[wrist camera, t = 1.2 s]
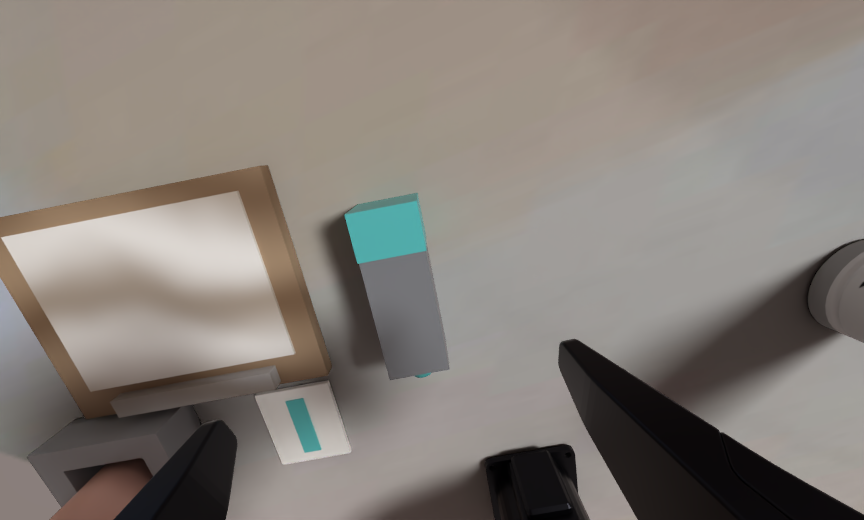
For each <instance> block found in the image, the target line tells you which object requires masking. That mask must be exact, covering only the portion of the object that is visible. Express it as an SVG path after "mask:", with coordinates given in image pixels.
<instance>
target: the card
mask: <svg viewBox="0 0 864 520" xmlns="http://www.w3.org/2000/svg"><path fill="white" fill-rule="evenodd" d="M254 397H255V399H256V401H257V404H258V406H259V409H260V411H261V414H262V416H263V418H264V421H265V423H266V426H267V428H268V431H269V433H270V435H271V438H272V440H273V443H274V445H275V448H276V450H277V452H278V455H279V457H280V460H281V462H282V465H285V464H291V463H296V462H302V461H308V460H313V459H319V458H325V457H331V456H336V455H342V454H348V453H351V450H352V449H351V446H350V443H349V440H348V437H347V434H346V431H345V428H344V425H343V422H342V419H341V416H340V413H339V410H338V406H337V403H336V400H335V397H334V394H333V391H332V388H331V385H330V382H329V380H327V381H321V382H315V383H310V384H304V385H299V386H293V387H288V388H282V389H277V390H271V391H266V392H260V393H256V395H255V396H254Z"/></svg>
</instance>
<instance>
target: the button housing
mask: <svg viewBox="0 0 864 520" xmlns="http://www.w3.org/2000/svg"><path fill="white" fill-rule="evenodd" d="M200 426H201V423H200V421H199V418H198V416H197V414H196V412H195V410H194V408H193V406H192V405H187V406H182V407H176V408H171V409H165V410H160V411H154V412H149V413H143V414H138V415H132V416H127V417H121V418H119V417H118V416H117V414H113V415H107V416H102V417H96V418H91V419H86V418H80V419H75V420H74V421H73V422H71V423H70V424H69V425H67V426H66V427H65V428H63V429H62V430H61V431H59V432H58V433H57V434H56V435H54V436H53V437H52V438H50V439H49V440H48V441H46V442H45V443H44V444H42V445H41V446H40V447H39V448H37V449H36V450H35V451H33V452H32V453H31V454H29V455H28V456H27V458H28V460H29V461H30V463H31V464H32V466H33V467H34V468H35V470H36V471H37V473H38V474H39V476H40V477H41V479H42V480H43V481H44V483H45V484H46V486H47V487H48V488H49V490H50V491H51V493H52V494H53V496H54V497H55V499H56V500H57V502H58V503H59V504H60V506H61V507H63V506H64V505H65V504H66V503H67V502H68V501H69V500H70V499H71V498H72V497H73V496H74V495H75V494H76V493H77V492H78V491H79V490H80V489H81V488H82V487H83V486H84V485H85V484H86V483H87V482H88V481H89V480H90V479H91V478H92V477H93V476H94V475H95V474H96V473H97V472H98V471H99V470H101V469H102V468H103V467H104V466H105V465H106V464H109V463H115V462H120V461H126V460H131V459H137V458H141V459H144V461H145V463H146V465H147V466H148V468H149V470H150V472H151V474H152V475H153V476H154V475H155V474H156V473H157V472H158V471H159V470H160V469H161V468H162V466H163V465H164V464H165V463H166V462H167V461H168V460H169V459H170V458H171V457H172V456H173V455H174V454H175V452H176V451H177V450H178V449H179V448H180V447H181V446H182V445H183V444H184V443H185V442H186V441H187V440H188V438H189V437H190V436H191V435H192V434H193V433H194V432H195V431H196V430H197V429H198V428H199V427H200Z"/></svg>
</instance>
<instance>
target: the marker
mask: <svg viewBox="0 0 864 520" xmlns="http://www.w3.org/2000/svg"><path fill="white" fill-rule="evenodd" d="M345 219H346V223H347V227H348V230H349V234H350V238H351V242H352V245H353V249H354V253H355V257H356V260H357V264H359V266H360V270H361V273H362V277H363V281H364V285H365V288H366V292H367V296H368V300H369V304H370V307H371V311H372V315H373V319H374V322H375V326H376V330H377V334H378V337H379V341H380V345H381V349H382V353H383V356H384V360H385V364H386V368H387V371H388V375H389V379H390V380H393V379H399V378H404V377H410V376H415V377H418V378H422V377H426V376H428V375H430V374H431V373H432V372H438V371H443V370H449V361H448V354H447V346H446V339H445V334H444V329H443V324H442V319H441V314H440V309H439V303H438V298H437V293H436V288H435V283H434V278H433V273H432V268H431V263H430V258H429V253H428V248H427V243H426V234H425V229H424V224H423V219H422V214H421V208H420V203H419V198H418V193H414V194H409V195H404V196H399V197H394V198H388V199H383V200H378V201H373V202H368V203H363V204H357V205H356V206H355V207H354V208H352V209H351V210H350V211H348V212H347V213H346V214H345Z"/></svg>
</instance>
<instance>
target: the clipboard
mask: <svg viewBox="0 0 864 520" xmlns="http://www.w3.org/2000/svg"><path fill="white" fill-rule="evenodd" d="M0 278H1V279H2V281H3V283H4V284H5V286H6V288H7V289H8V291H9V293H10V294H11V296H12V297H13V299H14V301H15V302H16V304H17V306H18V307H19V309H20V311H21V312H22V314H23V316H24V317H25V319H26V321H27V322H28V324H29V326H30V327H31V329H32V331H33V332H34V334H35V336H36V337H37V339H38V341H39V342H40V344H41V346H42V347H43V349H44V350H45V352H46V354H47V355H48V357H49V359H50V360H51V362H52V364H53V365H54V367H55V369H56V370H57V372H58V374H59V375H60V377H61V379H62V380H63V382H64V384H65V385H66V387H67V389H68V390H69V392H70V394H71V395H72V397H73V398H74V400H75V402H76V403H77V405H78V407H79V408H80V410H81V412H82V413H83V415H84V417H85V418H86V419H91V418H96V417H102V416H107V415H113V414H117V416H118V417H119V418H121V417H127V416H132V415H138V414H143V413H149V412H154V411H160V410H165V409H171V408H176V407H182V406H187V405H193V404H198V403H204V402H210V401H215V400H221V399H226V398H232V397H237V396H243V395H248V394H254V393H259V392H265V391H270V390H276V389H277V387H278V385H279V384H284V383H289V382H295V381H300V380H306V379H311V378H317V377H322V376H328V375H329V372H330V370H331V367H332V364H331V361H330V358H329V355H328V352H327V349H326V346H325V342H324V339H323V336H322V333H321V330H320V327H319V324H318V321H317V317H316V314H315V311H314V308H313V305H312V302H311V299H310V296H309V292H308V289H307V286H306V283H305V280H304V277H303V274H302V271H301V267H300V264H299V261H298V258H297V255H296V252H295V249H294V246H293V242H292V239H291V236H290V233H289V230H288V227H287V224H286V221H285V217H284V214H283V211H282V208H281V205H280V202H279V199H278V196H277V193H276V189H275V186H274V183H273V180H272V177H271V174H270V171H269V168H268V165H266V166H257V167H252V168H247V169H242V170H237V171H232V172H227V173H222V174H216V175H211V176H206V177H201V178H196V179H191V180H186V181H181V182H176V183H171V184H166V185H161V186H156V187H151V188H146V189H141V190H136V191H131V192H126V193H121V194H116V195H111V196H106V197H101V198H96V199H91V200H85V201H80V202H75V203H70V204H65V205H60V206H55V207H50V208H45V209H40V210H35V211H30V212H25V213H20V214H15V215H10V216H5V217H0Z"/></svg>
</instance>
